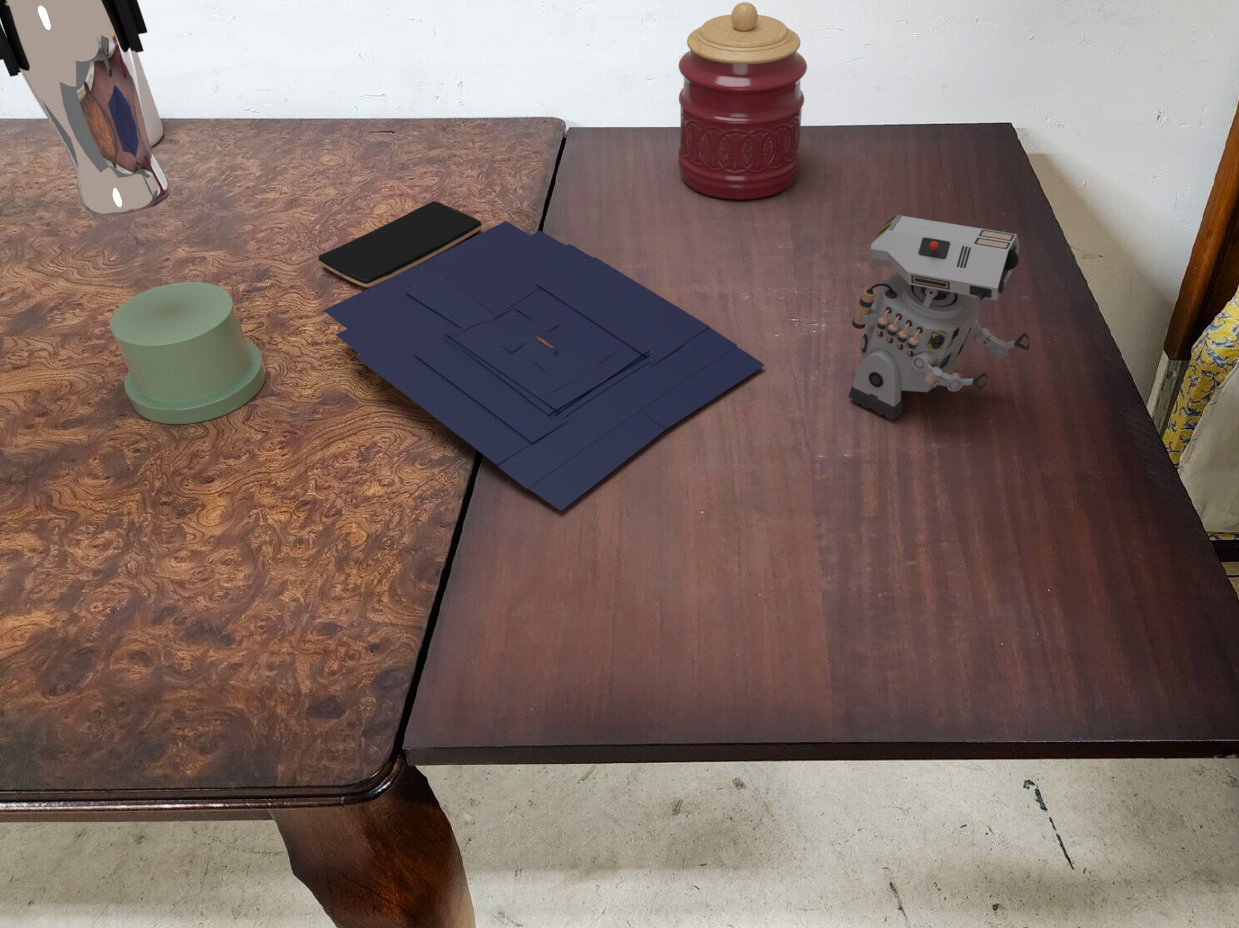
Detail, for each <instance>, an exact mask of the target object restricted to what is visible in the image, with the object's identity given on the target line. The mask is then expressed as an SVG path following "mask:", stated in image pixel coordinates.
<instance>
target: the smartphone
mask: <svg viewBox="0 0 1239 928" xmlns="http://www.w3.org/2000/svg"><path fill="white" fill-rule="evenodd" d="M482 228H483V223H482V221H480V220H479V219H477V218H476V217H473V216H471V215H469V214H467V213H465V212H462V211H460V210H458V209H456V208H453V207H452V206H448V205H446V204H444V203H442V202H440V201H435V200H432V201H430V202H427V203H425V204H424V205H422V206H420V207H418V208H416V209H414V210H412V211H410V212H408V213H406V214H404V215H401V216H400V217H398V218H396V219H394V220H392V221H389V222H388V223H386V224H383V225H382V226H379V227H378V228H376V229H374V230H371V231H369V232H368V233H365V234H363V235H361V236H359V237H357V238H355V239H353V240H350V241H349V242H346V243H344V244H342V245H340V246H337V247H336V248H333V249H330V250H328V251H326V252H324V253H322V254H319V255H318V262H319V264H320V265H321V266H323V267H324V268H326V269H327V270H329V271H330V272H332V273H334V274H336V275H338V276H339V277H341V278H343V279H345V280H347V281H349V282H351V283H353V284H356V285H359V286H361V287H363V288H371V287H373V286H375V285H377V284H379V283H381V282H383V281H385V280H388V279H390V278H392V277H394V276H396V275H398V274H400V273H402V272H404V271H407V270H409V269H411V268H413V267H415V266H417V265H419V264H421V263H423V262H425V261H427V260H429V259H431V258H433V257H435V256H437V255H439V254H441V253H443V252H445V251H447V250H449V249H451V248H453V247H454V246H456V245H458V244H460V242H462V241H464V240H466V239H467V238H469V237H471V236H473V235H474V234H476V233H477V232H479V231H481V230H482Z"/></svg>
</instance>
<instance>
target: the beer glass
mask: <svg viewBox="0 0 1239 928" xmlns="http://www.w3.org/2000/svg"><path fill="white" fill-rule="evenodd" d="M0 23H1V25H2V28H3V30H4V33H5V35H6V37H7V40H8V42H9V45H10V47H11V49H12V52H13V54H14V57H15V59H16V61H17V64H18V66H19V68H20V71H21V72H20V73H21V76H22V77H23V80H24V81H25V82H26V85H27V86H28V88H29V89H30V91H31V93H32V95H33V97H34V98H35V100H36V102H37V103H38V105H39V107H40V108H41V110H42V112H43V113H44V115H45V116H46V118H47V119H48V121H49V123H50V124H51V126H52V128H53V129H54V131H55V132H56V134H57V136H58V138H59V139H60V141H61V143H62V145H63V146H64V147H65V150H66V152H67V154H68V156H69V158H70V160H71V164H72V166H73V168H74V172H75V176H76V180H77V185H78V191H79V196H80V200H81V204H82V206H83V208H84V209H85V210H86V211H87V212H89V213H91V214H93V215H96V216H101V217H125V216H131V215H135V214H139V213H143V212H146V211H148V210H152V209H154V208H156V207H157V206H159V205H161V204H162V203H165V201H166V200H167V199H168V198H169V197H170V195H171V193H172V185H171V183H170V181H169V180H168V177H167V176H166V174H165V172H164V170H163V168H162V167H161V165H160V163H159V161H158V159H157V157H156V155H155V154H154V152H153V149H152V146H150V144H149V140H148V137H147V133H146V129H145V124H144V119H143V113H142V107H141V100H140V94H139V88H138V82H137V76H136V72H135V67H134V63H133V58H132V54H131V51H130V48H129V45H128V41H127V38H126V35H125V33H124V30H123V27H122V24H121V22H120V19H119V16H118V14H117V12H116V9H115V7H114V4H113V2H112V0H0Z"/></svg>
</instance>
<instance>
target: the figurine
mask: <svg viewBox="0 0 1239 928" xmlns="http://www.w3.org/2000/svg"><path fill="white" fill-rule="evenodd" d="M1018 237H1019V236H1018V234H1017V233H1014V230H1011V229H1010V228H994V229H993V230H992V229H986V228H980V227H974V226H966V225H961V224H957V223H956V224H955V223H949V222H943V221H937V220H931V219H925V218H917V217H913V216H906V215H899V214H897V215H895V216H893V217H891V218H889V219H888V220H887V221H886V222H885V224H884V226H882V229H881V230H880V231H879V233H878V234H877V236H876V237H875V238H874V240H873V241H872V242H871V246H870V254H871V259H873V260H878V261H883V262H884V261H885V262H888V263H889V264H890V265H891V266H892V267H893V269H895V271H897V272H896V273H894V274H892V276H891V277H889V278H888V279H886V280H885V281H883V282H882V283H876V284H874V285H872V286H871V287H866V288H864V289H863V291H862V295H861V296H860V298H859V301H858V306H857V309H856V313H855V316H854V317H853V318H852V322H851V325H852V327H854V328H855V329H857V330H863V329H864V330H863V333H862V336H861V339H860V342H859V345H858V350H859V355H860V359H861V362H860V364H859V365H858V368H857V370H856V373H855V376H854V383H853V385H852V386H851V387H850V390H849V392H848V398H850V399H851V400H853V403H854V404H856V405H860V404H861V405H862V407H863V408H864V409H869V408H870V409H872V410H874V411H875V413H876V414H877V415H878V416H882V415H884V418H885V419H887V420H891V419H893V420H895V419H896V418H897V417H898V416H900V415H901V414H902V413H903V400H902V398H901V397H902V392H903V391H904V392H905V391H906V392H920V393H928V392H930V391H931V390H932V389H933V388H934V389H935V388H936V387H937V386H941V387H946V388H947V390H948V391H949V392H958V391H959V390H961V389H962V387H963V386H972V384H973V385H974V386H975V388H976V389H978V390H979V391H980V390H982V389H983V388H984V387H985V386H986V385H987V384H988V382H985V383H983V384H982V385H980V384H979V381H980V380H981V379H982V378H984V377H985V378H986V379H990V378H989V376H988V374H987V373H986V372H985V371H984V372H982V374H980V375H978V376H977V377H974V378H963V376H962V375H961V374H960V373H958V372H954V370H955V368H956V367H957V364H958V362H959V359H960V357H961V354H962V353H963V350H964V349H965V346H966V344H967V341H968V339H969V337H970V335H971V334H973V335H974V336H973V341H974V343H975V344H977V345H983V346H984V347H986V348H988V349H990V351H991V352H992V354H993V355H994V356H995V357H998V358H1000V359H1001V358H1006V357H1007V356H1008V352H1009V350H1011V349H1014V348H1015V347H1017V348H1021V349H1023V350H1026V351H1029V349H1030V341H1031V339H1030V336H1029V335H1028V333H1027V332H1023V333H1022V334H1021V335H1020V336H1019V337H1018V338H1017V339H1016V340H1011V341H1007V342H1006V341H1005V340H1003V339H999V338H997V337H996V336H995V335H993V334H992V333H991V330H990V329H989V328H987V327H981V326H980V322H979V319H978V317H979V314H980V312H981V305H980V303H979V301H978V298H979V300H980V301H982V300H983V299H986V300H992V301H996V302H997V301H998V300H999V297H1000V295H1002V294H1003V292H1004V289H1005V286H1006V284H1007V281H1008V280H1009V278H1010V276H1011V275H1012V272H1013V271H1014V269H1016V267H1017V266H1018V264H1019V259H1020V258H1019V251H1020V242H1019V238H1018ZM877 287H878V290H877V292H876V291H875V290H874V289H875V288H877ZM1024 338H1026V339H1027V340H1028V343H1027V346H1026V345H1024V344H1022V343H1021V341H1022V340H1023V339H1024Z"/></svg>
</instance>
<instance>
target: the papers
mask: <svg viewBox="0 0 1239 928" xmlns="http://www.w3.org/2000/svg"><path fill="white" fill-rule="evenodd" d="M322 311H323V312H325V314H327V315H328V316H329V317H331V318H332V319H333V320H334V321H336V322H337V323H339V324H340V325H341V326H342V327H343V328H345V329H343V330H341V331H339V332H337V333H335V336H336V337H337V338H338V339H340V340H341V341H342V342H344V343H345V344H346V345H347V346H348V347H350V348H351V349H352V350H353V351H355V352H356V353H357V355H356V356H355V358H357V359H358V360H359V361H360V362H361V363H363V364H364V365H365V366H367V367H368V368H369V369H370V370H371V371H373V372H374V373H375V374H376V375H378V376H379V377H380V378H381V379H383V380H384V381H386V382H388V383H389V384H390V385H392V386H393V387H394V388H396V389H397V390H398V391H399V392H401V393H402V394H403V395H405V397H407V398H409V399H410V400H411V401H412V402H414V403H415V404H416V405H418V406H419V407H421V408H422V409H423V410H424V411H425V412H427V413H428V414H430V416H432V417H433V418H435V419H436V420H438V421H439V422H440V423H441V424H442V425H444V426H445V427H446V428H447V429H449V430H450V431H451V432H453V433H454V434H456V435H457V436H458V437H460V438H461V439H462V440H463V441H465V442H466V443H467V444H469V445H470V446H471V447H473V448H474V449H475V450H477V451H478V452H479V453H480V454H482V455H483V456H484V457H486V458H487V459H489V460H490V461H491V463H492V464H494V465H495V466H496V467H497V468H499V469H500V470H501V471H503V472H504V473H505V474H506V475H508V476H509V477H510V478H511V479H512V480H514V481H516V482H517V483H518V484H519V485H521V486H522V487H523V488H525V489H526V490H530V491H531V492H533V493H534V494H535V495H537V496H538V497H540V498H541V499H542V500H544V501H545V502H547V503H548V504H550V505H551V506H553V507H554V508H555V509H557V510H558V511H559V512H561V511H563V510H565V508H567V507H568V506H569V505H571V504H572V503H573V502H574V501H576V500H577V499H578V498H580V497H581V496H582V495H584V494H585V493H586V492H587V491H589V490H590V489H591V488H593V486H595V485H597V483H599V482H601V480H603V479H604V478H605V477H607V476H609V474H611V473H612V472H613V471H615V470H616V469H617V468H618V467H620V466H621V465H622V464H624V463H625V462H626V461H627V460H629V458H631V457H632V456H634V455H635V454H636V453H638V452H639V451H640V450H641V449H643V448H644V447H645V446H646V445H648V444H649V443H650V442H651V441H653V440H654V439H656V438H657V437H658V436H659V435H661V434H662V433H663V432H664V431H666V430H667V429H669V428H671V426H673V425H675V424H676V423H678V422H680V421H681V420H682V419H684V418H686V417H687V416H689V415H690V414H692V413H694V412H695V411H697V410H698V409H699V408H701V407H703V406H704V405H706V404H707V403H709V402H711V401H713V400H714V399H716V398H717V397H718V396H720V395H721V394H723V393H725V392H726V391H727V390H729V389H731V388H732V387H734V386H735V385H736V384H739V383H740V382H742V381H743V380H744V379H746V378H747V377H749V376H751V375H752V374H754V373H756V372H757V371H759V370H760V369H762V368H764V367H765V366H766V365H765V364H764V363H763V362H762V361H760V360H758V359H757V358H755V357H754V356H752V355H750V354H749V353H748V352H746V351H744V350H743V349H742V348H740V347H738V345H737V344H736V343H735V342H733V341H732V340H730V339H729V338H727V337H726V336H724V335H722V334H721V333H720V332H718V331H716V330H715V329H713V328H711V326H710V325H709V324H707V323H705V322H703V321H701V320H700V319H699V318H696V316H693V315H692V314H690V313H689V312H687V311H685V310H684V309H682V308H680V307H679V306H677V305H675V304H673V303H672V302H670V301H668V300H667V299H665V298H664V297H662V296H660V295H659V294H657V293H655V292H654V291H652V290H651V289H649V288H648V287H646V286H644V285H643V284H640V283H639V282H637V281H636V280H634V279H633V278H631V277H629V276H627V275H626V274H625V273H622V272H621V271H619V270H618V269H616V268H614V267H613V266H611V265H610V264H608V263H606V262H604V261H602V260H601V259H599V258H598V257H596V256H594V257H593V256H591V255H589V254H588V253H586V252H584V251H583V250H581V249H579V248H578V247H576V246H574V245H573V244H571V243H568V244H564V243H563V242H561V241H559V240H557V239H556V238H554V237H552V236H550V235H548V234H547V233H545V232H543V231H542V230H538V231H537V232H534V233H533V234H531V235H530V234H529V233H528V232H526V231H524V230H522V229H521V228H520V227H517V226H516V225H514V224H512V223H511V222H509V221H508V220H505V221H503V222H501V223H499V224H497V225H495V226H493V227H490V228H489V229H487V230H484V231H483V232H481V233H479V234H477V235H474V236H473V237H471V238H469V239H467V240H465V241H463V242H461V243H458V244H456V245H454V246H452V247H450V248H448V249H446V250H444V251H442V252H441V253H439V254H437V255H435V256H433V257H431V258H429V259H428V260H426V261H424V262H422V263H420V264H418V265H416V266H414V267H412V268H410V269H408V270H406V271H404V272H402V273H400V274H398V275H395V276H393V277H391V278H389V279H387V280H385V281H382V282H380V283H378V284H376V285H374V286H371V287H368V288H367V289H365V290H362V291H361V292H358V293H356V294H354V295H351V296H350V297H347V298H346V299H343V300H341V301H340V302H337V303H335V304H333V305H331V306H329V307H326V308H325V309H323V310H322Z"/></svg>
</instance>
